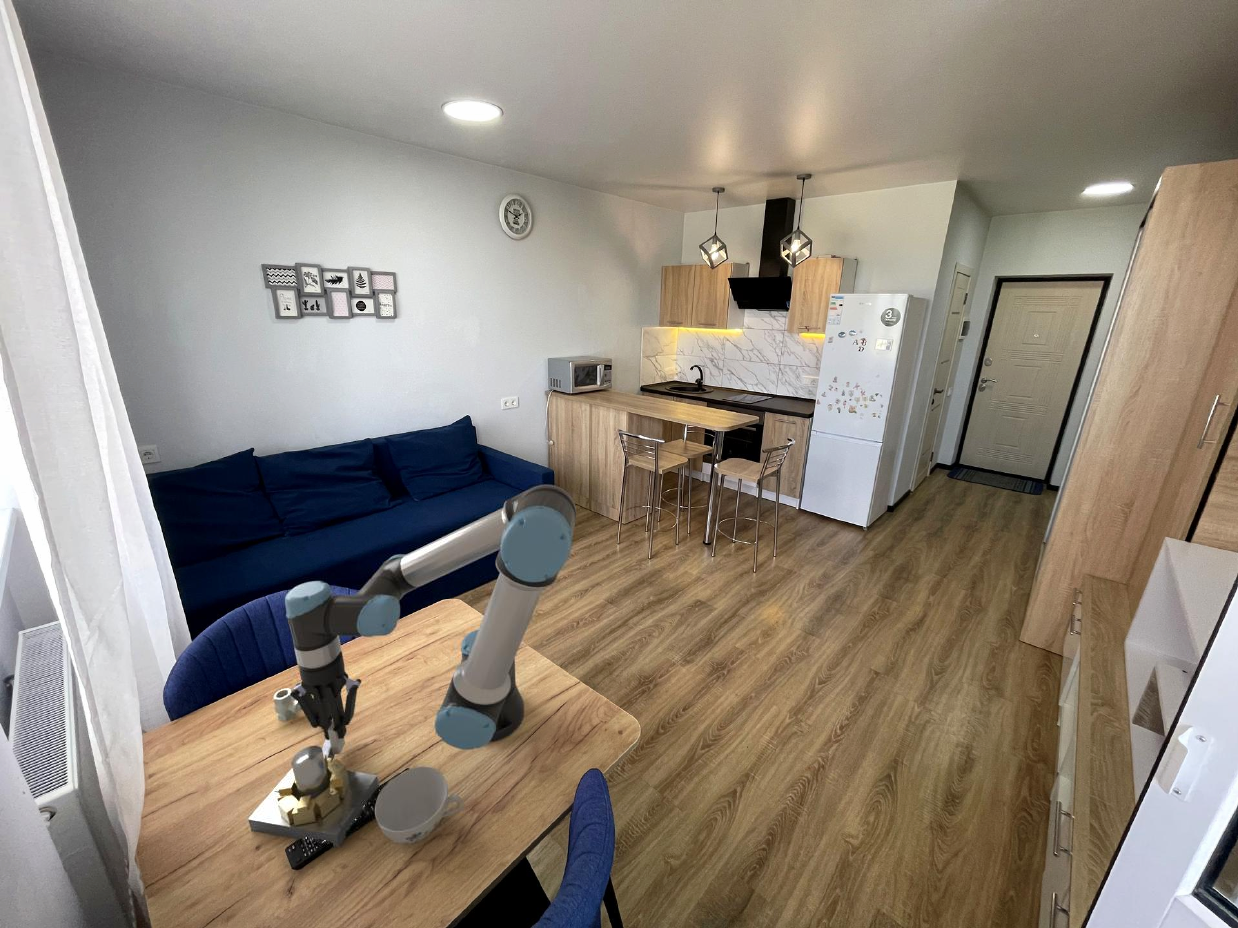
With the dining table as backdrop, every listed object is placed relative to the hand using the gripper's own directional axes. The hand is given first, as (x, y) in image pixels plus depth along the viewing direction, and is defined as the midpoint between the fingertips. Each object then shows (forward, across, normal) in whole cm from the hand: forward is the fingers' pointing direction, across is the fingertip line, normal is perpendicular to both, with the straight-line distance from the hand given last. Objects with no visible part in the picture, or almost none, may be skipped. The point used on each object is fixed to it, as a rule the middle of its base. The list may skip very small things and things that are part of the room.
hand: (338, 748), depth 103 cm
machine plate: (+4, +1, +10) cm, 10 cm away
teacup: (+5, -20, +15) cm, 26 cm away
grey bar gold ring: (+1, +1, +5) cm, 5 cm away
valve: (+4, +14, -14) cm, 20 cm away
